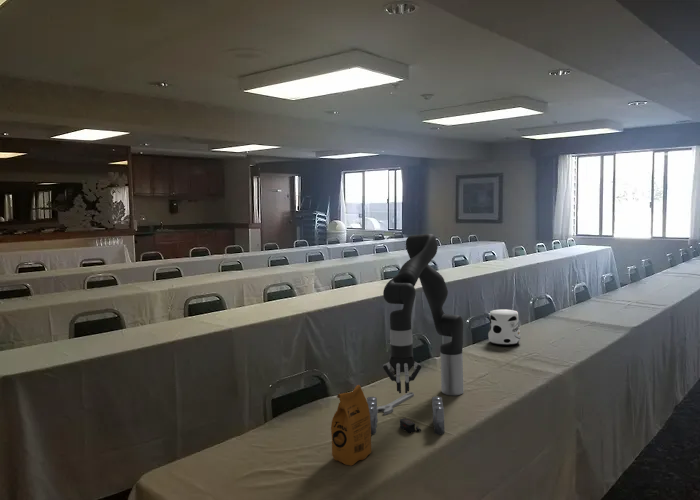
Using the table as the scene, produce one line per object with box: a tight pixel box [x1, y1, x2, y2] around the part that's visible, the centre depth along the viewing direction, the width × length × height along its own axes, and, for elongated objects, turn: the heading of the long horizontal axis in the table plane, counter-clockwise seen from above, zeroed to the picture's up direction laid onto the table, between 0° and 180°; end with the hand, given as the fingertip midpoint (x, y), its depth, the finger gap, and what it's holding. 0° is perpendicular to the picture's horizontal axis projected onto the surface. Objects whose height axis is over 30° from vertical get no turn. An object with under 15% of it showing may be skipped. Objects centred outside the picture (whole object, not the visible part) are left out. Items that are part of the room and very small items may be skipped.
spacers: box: [366, 396, 446, 436], centre depth 188 cm, size 13×28×9 cm, turn 84°
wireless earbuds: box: [399, 417, 422, 434], centre depth 186 cm, size 5×7×3 cm, turn 29°
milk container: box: [487, 308, 521, 347], centre depth 292 cm, size 17×17×18 cm
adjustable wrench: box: [377, 391, 415, 416], centre depth 210 cm, size 25×6×2 cm, turn 137°
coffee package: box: [330, 384, 372, 466], centre depth 167 cm, size 10×12×22 cm
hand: (403, 392), depth 176 cm, fingers closed
